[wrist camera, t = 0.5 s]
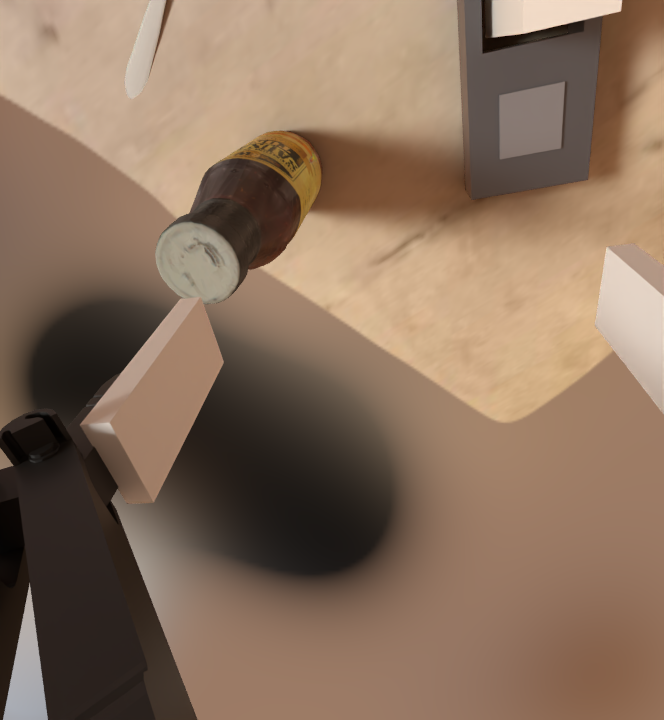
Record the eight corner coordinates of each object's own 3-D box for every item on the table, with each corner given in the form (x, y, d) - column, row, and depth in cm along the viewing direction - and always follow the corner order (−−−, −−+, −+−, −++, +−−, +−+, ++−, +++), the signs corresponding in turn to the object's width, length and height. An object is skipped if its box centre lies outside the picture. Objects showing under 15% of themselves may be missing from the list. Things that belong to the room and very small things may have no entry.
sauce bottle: (322, 126, 36) (272, 192, 19) (325, 209, 39) (285, 326, 22) (237, 128, 36) (117, 194, 20) (248, 210, 40) (153, 325, 23)
